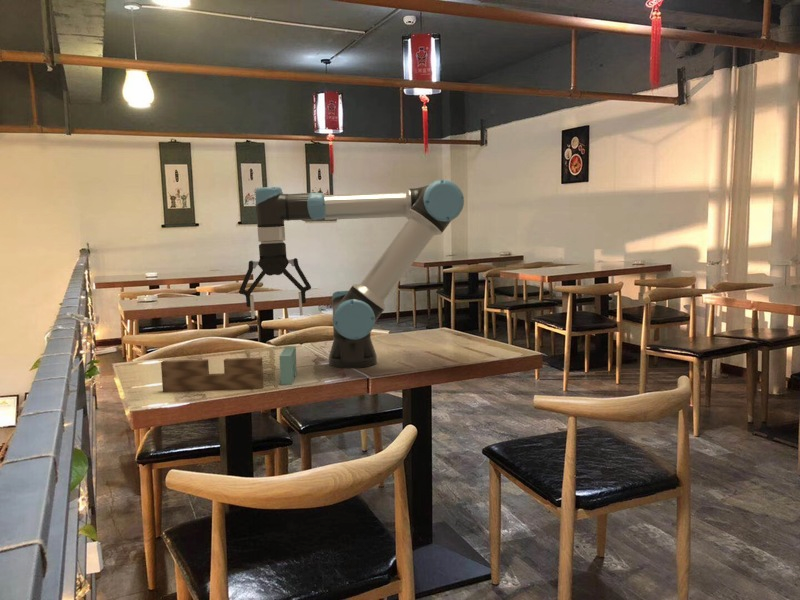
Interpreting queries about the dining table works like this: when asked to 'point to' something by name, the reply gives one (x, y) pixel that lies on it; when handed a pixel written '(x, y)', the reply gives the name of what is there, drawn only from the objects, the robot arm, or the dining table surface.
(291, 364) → the teal green block
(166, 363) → the walnut board
